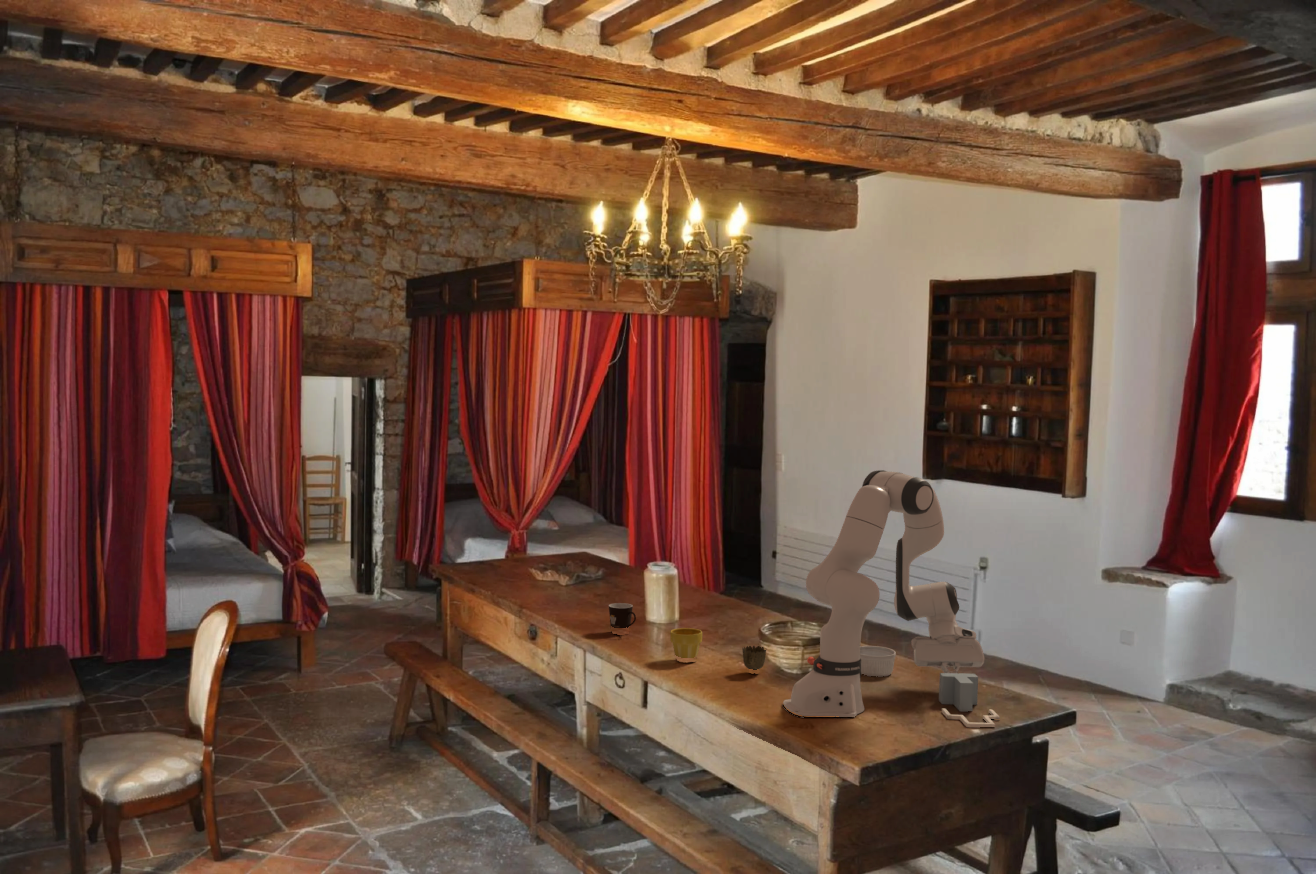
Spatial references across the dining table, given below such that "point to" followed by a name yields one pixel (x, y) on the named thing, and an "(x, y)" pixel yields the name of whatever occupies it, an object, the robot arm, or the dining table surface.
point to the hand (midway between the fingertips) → (952, 678)
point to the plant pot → (686, 642)
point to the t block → (958, 690)
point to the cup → (754, 657)
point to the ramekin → (877, 660)
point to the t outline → (973, 724)
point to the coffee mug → (621, 615)
